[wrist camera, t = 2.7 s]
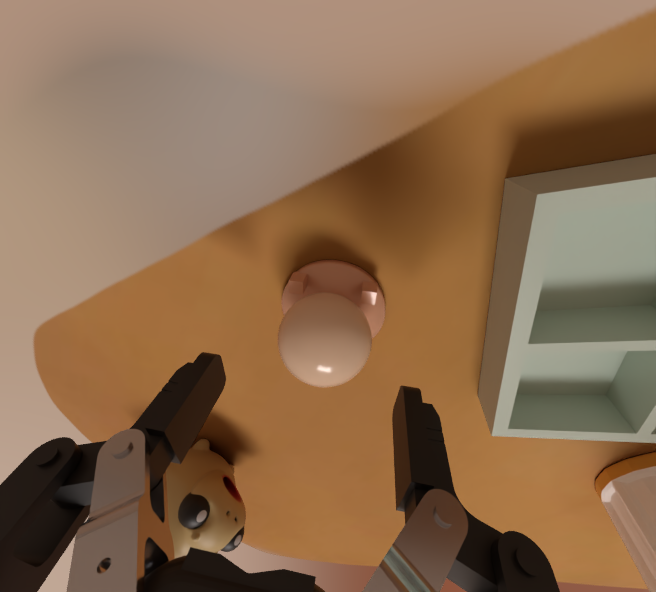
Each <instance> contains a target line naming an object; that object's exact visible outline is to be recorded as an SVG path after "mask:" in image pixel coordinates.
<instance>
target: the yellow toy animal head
mask: <svg viewBox="0 0 656 592" xmlns="http://www.w3.org/2000/svg"><path fill="white" fill-rule="evenodd" d="M209 445H210V444H209V441H208V440H207V439H200V440H199V441H198V442H197V443H196V444H195V445H194V446H193V447H192V448H190V449H189V451H188V452H187V454H186V456H185V458H184V460H183V461H182V463H181V464H178V463H173V462H171V463H170V465H169V466H168V468H167V470H166V479H167V499H168V518H169V527H170V531H171V535H172V539H173V545H174V556H175V558H178V557H182V556H186V555H187V554H188V551H189V549H190V547H192V548H197V549H201V550H205V551H209V552H213V553H218V551H220V550H221V551H225V552H229V551H232V550H234V549H235V548H236V547H237V546H238V545H239V544H240V542H241V541H242V538H243V535H244V525H245V519H246V511H245V506H244V503H243V500H242V498H241V496H240V494H239V492H238V490H237V488H236V485H235V479H234V475H233V474H234V467H233V466H232V465H231V464H228V463H227V462H226V460H225V459H224V458H223V457H221V456H220V455H218V454H217V453H215V452H212V451H210V450H209Z"/></svg>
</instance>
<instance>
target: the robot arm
mask: <svg viewBox="0 0 656 592" xmlns="http://www.w3.org/2000/svg"><path fill="white" fill-rule="evenodd" d="M225 381H226V376H225V372H224V367H223V363H222V359H221V356H220V355H217V354H211V353H205V352H203V353H201V354H200V355H199V356H198V357H197V359H196V360H195V361H194V363H189V362H188V363H187V364H185V365H184V366H182V367H181V368H180V369H178V370H177V371H176V372H175V373H174V375H173V376H172V377H171V378H170V380H169V382H168V383H167V384H166V385H165V386H164V387H163V389H162V391H161V392H159V394H158V395H157V396H156V397H155V399H154V400H153V401H152V402H151V404H150V405H149V406H148V408H147V409H146V410H145V411H144V413H143V414H142V415H141V416H140V418H139V419H138V420H137V421H136V423H135V424H134V425H133V426H132V427H131V428H130V429H127V430H124V431H121V432H119V433H117V434H115V435H114V436H112V437H111V438H110V439H109V440H107V441H103V442H96V443H90V444H83V445H77V444H76V443H75V442H74V441H73V440H72V439H70V438H65V437H62V438H57V439H53V440H51V441H49V442H46V443H45V444H43V445H41V446H40V447H38V448H37V449H35V450H34V451H33V452H32V453H31V454H30V455H29V456H28V457H27V458H26V459H25V460H24V461H23V462H22V463H21V464H20V465H19V466H18V467H17V468H16V469H15V470H14V471H13V472H12V473H11V474H10V475H9V476H8V478H7V479H6V480H5V481H4V482H3V483H2V484H1V485H0V592H37V591H38V590H39V589H40V587H41V586H42V584H43V582H44V581H45V580H46V578H47V577H48V575H49V574H50V572H51V570H52V569H53V568H54V566H55V565H56V563H57V562H58V560H59V559H60V557H61V556H62V554H63V553H64V551H65V550H66V548H67V547H68V545H69V544H70V542H71V541H72V539H73V538H74V536H75V535H76V538H75V544H74V550H73V556H72V562H71V568H70V574H69V581H68V587H67V592H325V591H324V590H323V589H321V588H320V587H319V586H317V585H316V584H315V577H314V576H310V575H306V574H302V573H298V572H293V571H289V570H285V569H282V570H275V571H266V572H259V573H246V572H245V571H243V570H242V569H240V568H239V567H238V566H236V565H234V564H233V563H232V562H230V561H229V560H228V559H226V558H225V557H224V556H222V555H221V554H218V553H213V552H209V551H205V550H201V549H197V548H192V547H190V549H189V551H188V554H187V555H186V556H182V557H178V558H175V556H174V545H173V539H172V535H171V531H170V527H169V518H168V499H167V479H166V470H167V468H168V466H169V465H170V463H171V462H173V463H178V464H181V463H182V461H183V460H184V458H185V456H186V454H187V452H188V451H189V449H190V447H191V445H192V444H193V442H194V440H195V438H196V437H197V435H198V433H199V431H200V430H201V428H202V426H203V424H204V422H205V421H206V419H207V417H208V415H209V414H210V412H211V410H212V408H213V407H214V405H215V403H216V401H217V400H218V398H219V396H220V394H221V393H222V391H223V389H224V386H225ZM393 444H394V467H395V489H396V510H398V511H403V512H405V526H404V528H403V529H402V531H401V532H400V534H399V535H398V537H397V539H396V540H395V542H394V543H393V545H392V546H391V548H390V549H389V551H388V552H387V554H386V556H385V557H384V559H383V560H382V562H381V563H380V565H379V566H378V568H377V569H376V571H375V573H374V574H373V576H372V577H371V579H370V580H369V582H368V584H367V585H366V587H365V588H364V590H363V591H362V592H440V590H441V588H442V586H443V584H444V582H445V580H446V578H448V579H449V580H451V581H452V582H453V583H455V584H457V585H458V586H459V587H461V588H462V589H464V590H465V591H467V592H560V591H559V588H558V585H557V582H556V579H555V576H554V573H553V570H552V568H551V565H550V563H549V561H548V559H547V558H546V556H545V554H544V553H543V552H542V550H541V549H540V548H539V547H538V546H537V545H536V544H535V543H534V542H533V541H532V540H531V539H530V538H528V537H527V536H525V535H523V534H521V533H519V532H515V531H508V532H505V533H504V534H502V533H501V532H499V531H497V530H495V529H494V528H492V527H490V526H488V525H487V524H485V523H483V522H481V521H480V520H478V519H477V518H475V517H474V516H472V515H471V514H470V513H469V512H468V511H467V510H466V509H465V508H464V507H463V505H462V504H461V503H460V501H459V499H458V498H457V496H456V493H455V491H454V487H453V482H452V477H451V472H450V467H449V462H448V457H447V452H446V447H445V444H444V437H443V433H442V427H441V422H440V417H439V415H438V414H437V412H436V410H435V409H434V407H433V405H432V404H427V403H422V396H421V391H420V389H419V388H413V387H407V386H401V387H400V390H399V393H398V396H397V399H396V402H395V405H394V409H393ZM88 516H89V518H88V520H87V521H86V522H85V520H86V519H87V517H88ZM84 522H85V523H84ZM76 533H77V534H76Z"/></svg>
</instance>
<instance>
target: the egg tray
mask: <svg viewBox="0 0 656 592" xmlns="http://www.w3.org/2000/svg"><path fill="white" fill-rule="evenodd" d="M478 398H479V400H480V403H481V406H482V409H483V412H484V415H485V418H486V421H487V424H488V427H489V430H490V433H491V436H505V437H528V438H551V439H573V440H596V441H619V442H642V443H656V154H652V155H646V156H640V157H634V158H628V159H622V160H616V161H609V162H603V163H597V164H591V165H585V166H579V167H573V168H567V169H560V170H554V171H548V172H542V173H536V174H530V175H524V176H518V177H512V178H505V185H504V193H503V201H502V209H501V217H500V224H499V232H498V240H497V248H496V256H495V264H494V272H493V279H492V287H491V295H490V303H489V311H488V319H487V326H486V334H485V342H484V350H483V358H482V366H481V374H480V381H479V389H478Z"/></svg>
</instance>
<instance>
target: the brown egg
mask: <svg viewBox="0 0 656 592" xmlns="http://www.w3.org/2000/svg"><path fill="white" fill-rule="evenodd" d="M371 344H372V335H371V329H370V325H369V322H368V320H367V318H366V316H365V314H364V313H363V311H362V310H361V309H360V308H359V307H358V306H357V305H356V304H355V303H354V302H353V301H351V300H350V299H348V298H347V297H344V296H342V295H339V294H336V293H330V292H319V293H314V294H310V295H308V296H305V297H303V298H302V299H300V300H298V301H297V302H296V303H294V304H293V305H292V306H291V307H290V309H289V310H288V311H287V312H286V314H285V316H284V317H283V319H282V322H281V324H280V327H279V332H278V348H279V353H280V356H281V358H282V360H283V363H284V364H285V366H286V367H287V369H288V370H289V371H290V372H291V373H292V374H293V375H294V376H295V377H296V378H298V379H299V380H300V381H302V382H304V383H306V384H309V385H312V386H316V387H333V386H338V385H341V384H343V383H345V382H347V381H349V380H350V379H352V378H353V377H355V376H356V375H357V374H358V373H359V372H360V371H361V369H362V368H363V367H364V365H365V363H366V362H367V360H368V357H369V354H370V351H371Z"/></svg>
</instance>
